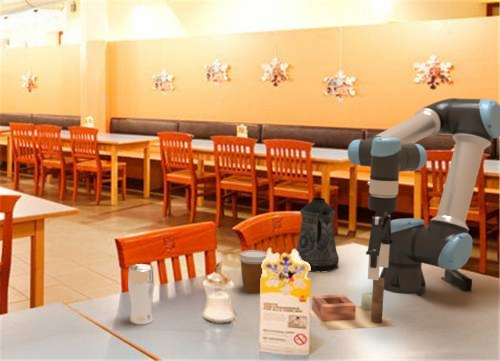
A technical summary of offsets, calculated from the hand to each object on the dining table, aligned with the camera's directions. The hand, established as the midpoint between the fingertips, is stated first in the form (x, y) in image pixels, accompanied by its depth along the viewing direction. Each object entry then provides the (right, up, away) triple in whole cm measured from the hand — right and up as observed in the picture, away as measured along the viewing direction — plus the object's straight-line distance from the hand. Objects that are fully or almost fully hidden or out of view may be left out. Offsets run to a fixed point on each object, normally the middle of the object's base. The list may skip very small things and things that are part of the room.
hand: (378, 272), depth 168 cm
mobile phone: (+34, -10, +40) cm, 53 cm away
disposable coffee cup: (-34, -10, +30) cm, 46 cm away
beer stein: (-10, -7, +58) cm, 59 cm away
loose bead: (0, -12, +12) cm, 17 cm away
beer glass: (-64, -13, +2) cm, 66 cm away
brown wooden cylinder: (0, -14, +2) cm, 14 cm away
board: (-7, -14, +5) cm, 16 cm away
